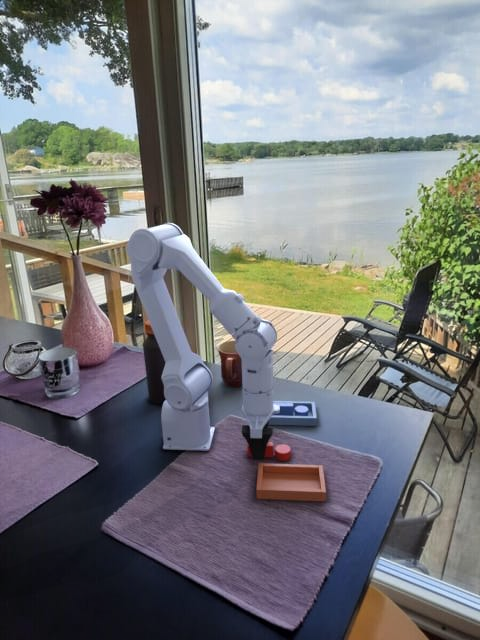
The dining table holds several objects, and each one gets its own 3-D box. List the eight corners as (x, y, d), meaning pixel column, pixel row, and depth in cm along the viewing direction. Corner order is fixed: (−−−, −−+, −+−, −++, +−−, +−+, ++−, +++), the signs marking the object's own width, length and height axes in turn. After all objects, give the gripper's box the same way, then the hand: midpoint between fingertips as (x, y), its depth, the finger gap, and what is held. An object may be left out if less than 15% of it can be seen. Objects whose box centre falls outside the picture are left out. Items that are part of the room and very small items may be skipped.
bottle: (143, 402, 107) (134, 325, 101) (158, 389, 113) (151, 315, 106) (167, 407, 105) (159, 328, 98) (181, 393, 110) (175, 318, 104)
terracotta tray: (256, 498, 75) (256, 489, 74) (258, 471, 81) (258, 462, 81) (325, 501, 74) (326, 492, 73) (322, 473, 80) (322, 465, 80)
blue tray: (262, 424, 96) (262, 417, 96) (264, 407, 103) (264, 400, 102) (316, 425, 95) (316, 418, 94) (314, 408, 102) (314, 401, 101)
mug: (223, 374, 120) (221, 339, 117) (255, 376, 118) (254, 341, 115) (212, 396, 109) (209, 358, 106) (246, 398, 107) (245, 360, 104)
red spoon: (247, 459, 85) (246, 447, 84) (248, 449, 88) (248, 438, 87) (290, 460, 84) (290, 449, 83) (290, 451, 87) (290, 439, 86)
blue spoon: (270, 418, 98) (270, 407, 97) (271, 411, 101) (270, 400, 100) (308, 418, 97) (308, 408, 96) (307, 411, 100) (308, 401, 99)
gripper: (279, 406, 74) (279, 474, 78) (280, 369, 88) (280, 428, 92) (237, 406, 75) (240, 472, 79) (244, 369, 88) (246, 427, 93)
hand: (259, 448), depth 86 cm, fingers open, 5 cm apart
